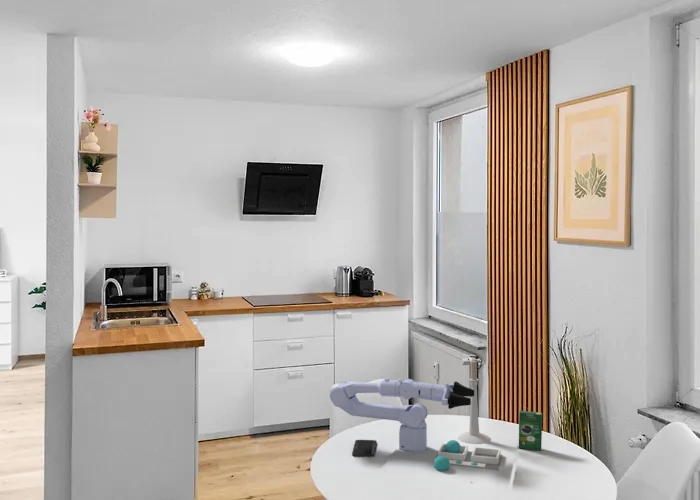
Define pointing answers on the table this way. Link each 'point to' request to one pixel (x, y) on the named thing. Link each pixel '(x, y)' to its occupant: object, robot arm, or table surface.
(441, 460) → the loose teal ball
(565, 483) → the table surface
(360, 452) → the phone
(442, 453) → the sorting tray
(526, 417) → the coffee box
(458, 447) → the seated teal ball
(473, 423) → the candlestick
